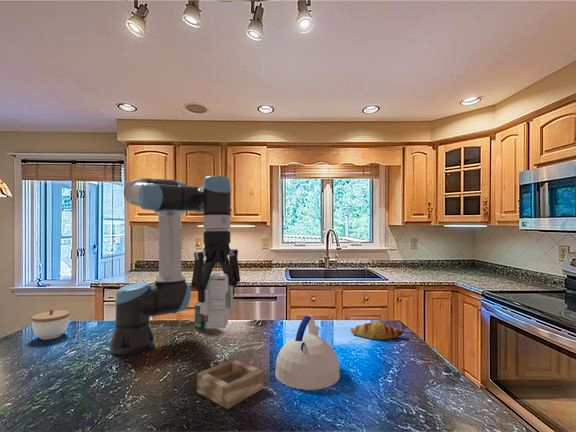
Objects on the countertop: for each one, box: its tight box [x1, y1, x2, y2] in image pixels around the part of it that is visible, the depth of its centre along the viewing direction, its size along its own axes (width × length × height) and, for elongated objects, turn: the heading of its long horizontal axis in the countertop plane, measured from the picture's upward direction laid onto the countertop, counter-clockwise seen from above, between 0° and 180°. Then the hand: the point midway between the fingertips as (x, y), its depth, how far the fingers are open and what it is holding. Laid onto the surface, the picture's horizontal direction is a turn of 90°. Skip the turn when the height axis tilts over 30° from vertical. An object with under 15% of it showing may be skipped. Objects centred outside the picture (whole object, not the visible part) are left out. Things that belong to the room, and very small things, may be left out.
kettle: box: [274, 314, 341, 391], centre depth 100 cm, size 20×21×18 cm
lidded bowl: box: [31, 309, 71, 341], centre depth 130 cm, size 13×13×11 cm
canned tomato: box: [194, 302, 212, 332], centre depth 141 cm, size 8×8×11 cm
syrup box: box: [205, 272, 229, 330], centre depth 90 cm, size 6×6×14 cm
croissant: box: [350, 319, 404, 341], centre depth 132 cm, size 21×10×8 cm, turn 79°
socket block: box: [196, 358, 264, 410], centre depth 89 cm, size 13×13×5 cm
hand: (217, 310), depth 90 cm, fingers closed on syrup box, 8 cm apart
